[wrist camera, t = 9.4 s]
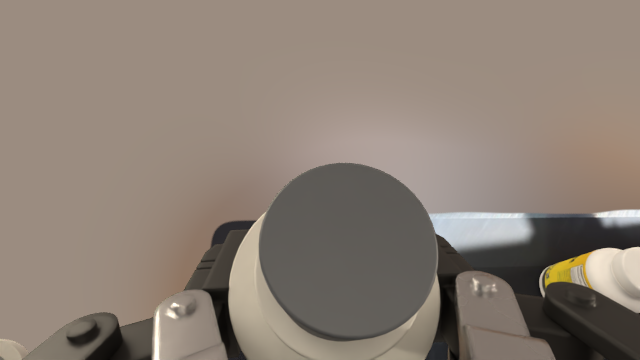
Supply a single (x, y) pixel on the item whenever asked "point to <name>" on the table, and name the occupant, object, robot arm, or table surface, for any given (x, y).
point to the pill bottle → (601, 274)
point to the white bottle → (337, 271)
